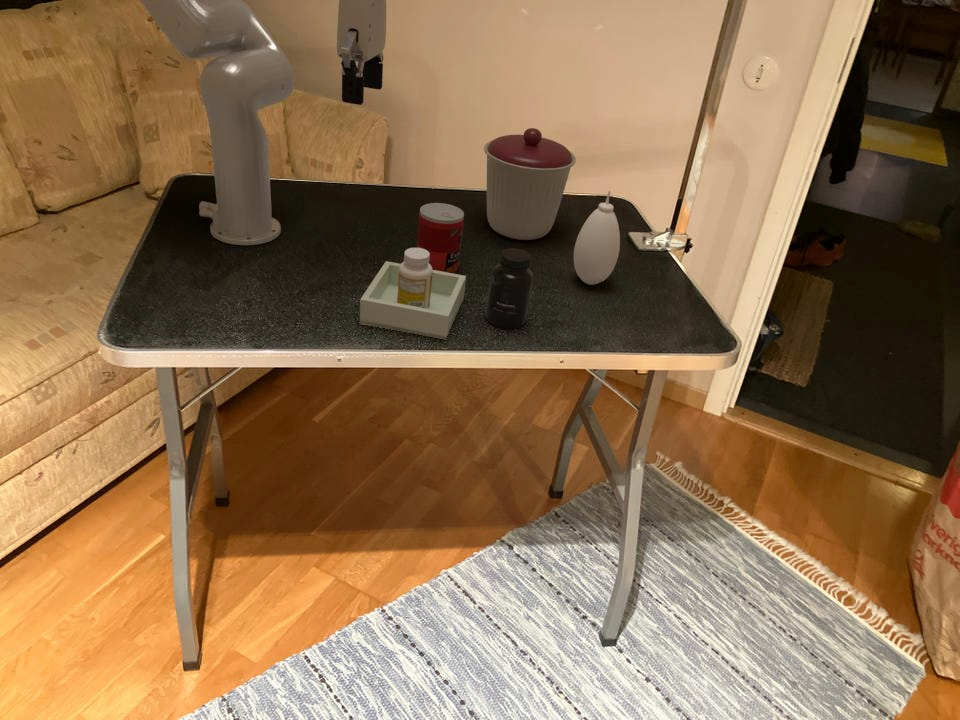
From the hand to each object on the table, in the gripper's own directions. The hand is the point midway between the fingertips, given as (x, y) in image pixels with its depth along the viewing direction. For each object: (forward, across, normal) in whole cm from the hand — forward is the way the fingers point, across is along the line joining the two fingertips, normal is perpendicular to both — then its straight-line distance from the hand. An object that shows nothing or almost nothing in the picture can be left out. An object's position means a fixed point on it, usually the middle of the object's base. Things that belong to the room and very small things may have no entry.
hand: (362, 95), depth 117 cm
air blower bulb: (+31, -11, +41) cm, 52 cm away
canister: (+31, -29, +25) cm, 49 cm away
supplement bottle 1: (+30, +11, +13) cm, 34 cm away
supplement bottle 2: (+31, +8, +28) cm, 42 cm away
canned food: (+31, -6, +13) cm, 34 cm away
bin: (+30, +11, +13) cm, 35 cm away
